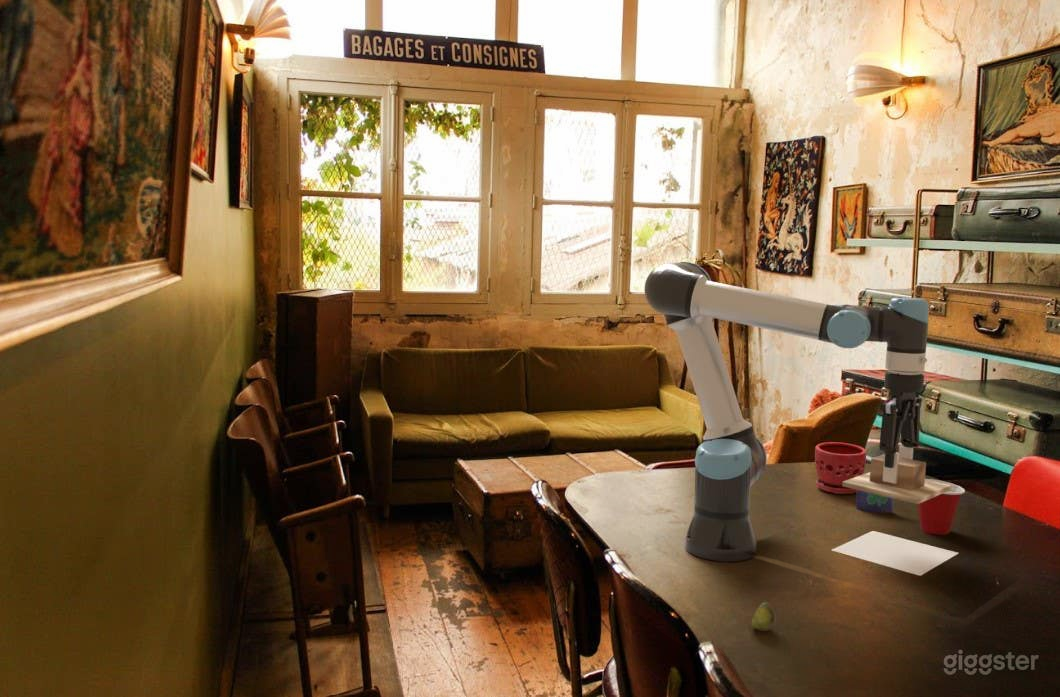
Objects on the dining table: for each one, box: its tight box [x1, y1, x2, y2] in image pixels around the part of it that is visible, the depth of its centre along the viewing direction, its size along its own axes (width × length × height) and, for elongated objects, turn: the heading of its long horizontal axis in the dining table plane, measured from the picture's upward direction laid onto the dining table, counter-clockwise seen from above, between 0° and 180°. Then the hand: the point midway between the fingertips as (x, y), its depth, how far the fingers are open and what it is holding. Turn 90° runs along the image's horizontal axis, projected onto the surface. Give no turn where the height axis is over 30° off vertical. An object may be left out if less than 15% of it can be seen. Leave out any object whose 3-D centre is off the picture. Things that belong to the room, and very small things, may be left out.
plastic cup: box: [917, 478, 966, 536], centre depth 192 cm, size 11×11×12 cm
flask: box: [855, 490, 895, 515], centre depth 208 cm, size 9×3×11 cm, turn 88°
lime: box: [749, 601, 777, 632], centre depth 144 cm, size 4×5×5 cm
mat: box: [831, 530, 959, 576], centre depth 179 cm, size 19×19×1 cm
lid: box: [842, 453, 951, 505], centre depth 177 cm, size 16×16×6 cm
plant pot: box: [814, 441, 867, 495], centre depth 228 cm, size 13×13×12 cm
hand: (896, 479), depth 177 cm, fingers closed on lid, 6 cm apart
